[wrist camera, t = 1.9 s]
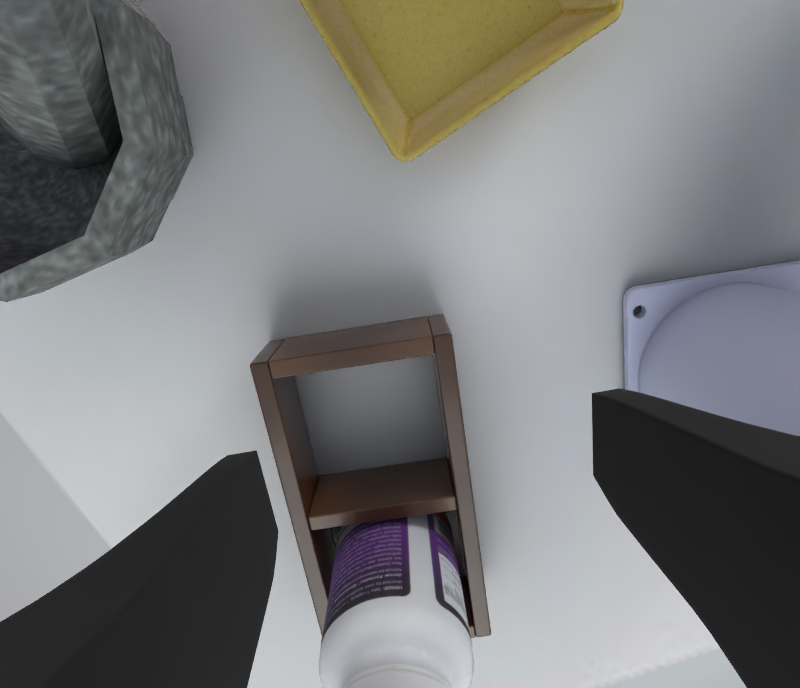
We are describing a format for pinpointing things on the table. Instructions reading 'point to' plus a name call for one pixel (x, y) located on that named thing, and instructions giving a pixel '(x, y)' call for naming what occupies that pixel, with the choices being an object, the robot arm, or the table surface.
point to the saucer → (447, 56)
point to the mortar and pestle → (83, 138)
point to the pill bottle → (396, 608)
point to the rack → (378, 487)
